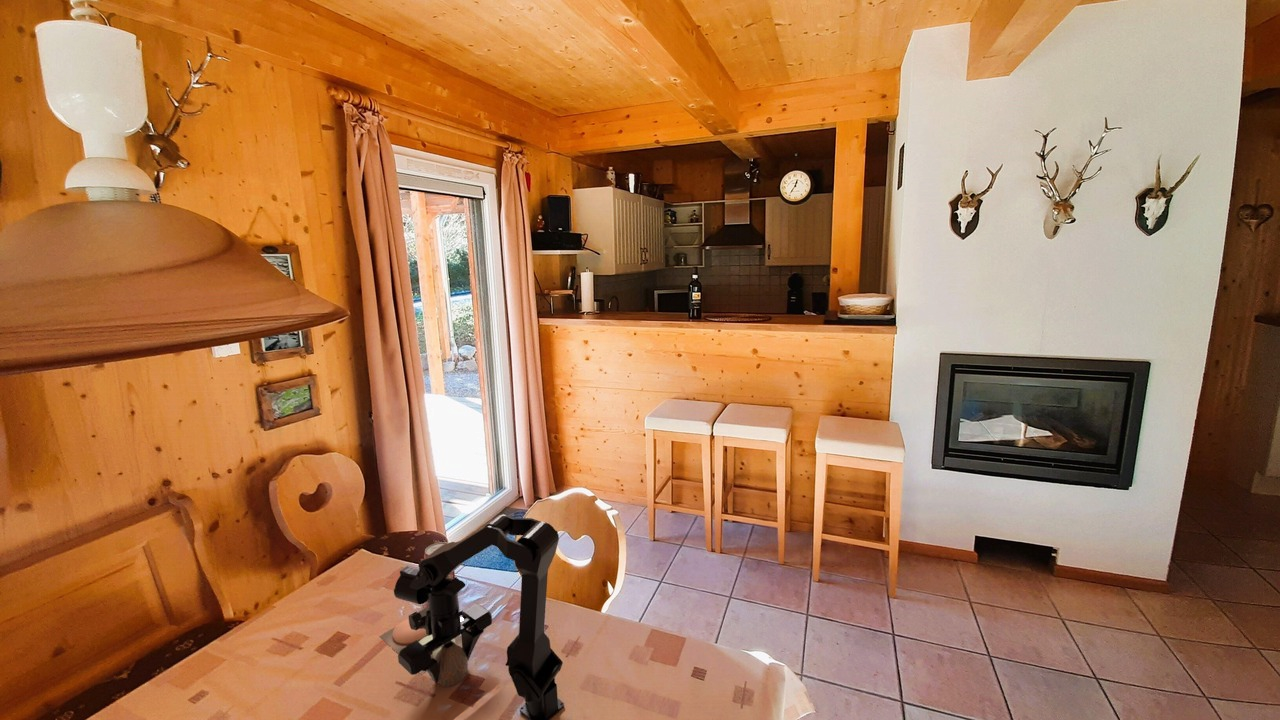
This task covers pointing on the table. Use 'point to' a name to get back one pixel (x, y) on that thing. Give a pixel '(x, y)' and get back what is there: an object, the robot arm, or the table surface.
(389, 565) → the table surface
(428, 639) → the cream disc
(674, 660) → the table surface
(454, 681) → the vase
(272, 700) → the table surface
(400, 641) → the terracotta disc
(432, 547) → the soda can
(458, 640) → the board
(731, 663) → the table surface
